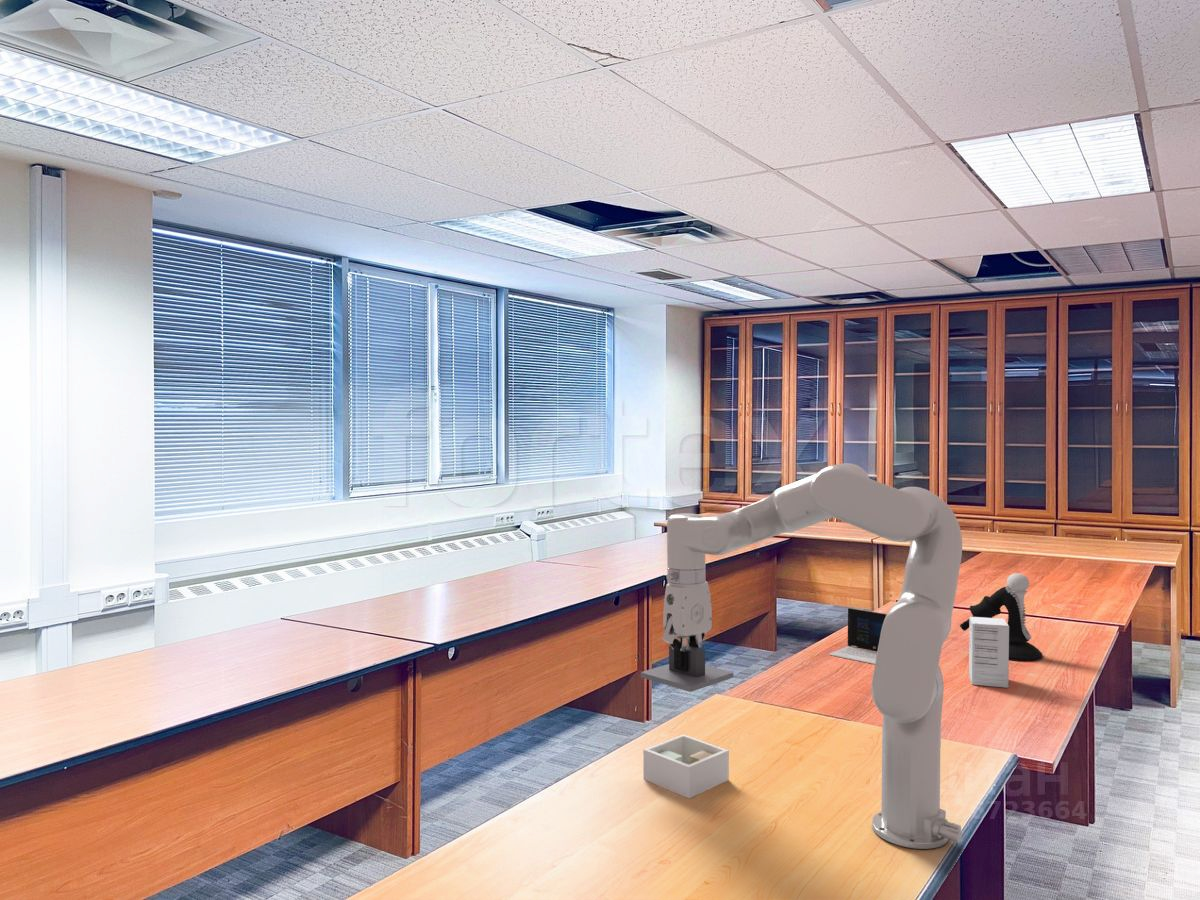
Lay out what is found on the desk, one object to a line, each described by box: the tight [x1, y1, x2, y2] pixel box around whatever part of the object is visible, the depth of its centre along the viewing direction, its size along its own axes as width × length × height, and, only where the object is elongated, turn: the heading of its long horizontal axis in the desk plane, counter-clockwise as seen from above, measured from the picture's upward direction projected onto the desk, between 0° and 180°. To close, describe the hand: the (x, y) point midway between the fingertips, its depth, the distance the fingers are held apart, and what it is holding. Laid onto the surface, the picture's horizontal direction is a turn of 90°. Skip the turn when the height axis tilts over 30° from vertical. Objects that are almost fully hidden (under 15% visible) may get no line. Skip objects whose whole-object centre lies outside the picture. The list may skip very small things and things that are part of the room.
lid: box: [640, 644, 734, 693], centre depth 168 cm, size 13×13×6 cm
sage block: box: [659, 750, 683, 762], centre depth 169 cm, size 4×4×4 cm
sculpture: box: [959, 572, 1043, 662], centre depth 261 cm, size 15×24×25 cm, turn 49°
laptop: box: [828, 607, 887, 665], centre depth 256 cm, size 18×12×13 cm
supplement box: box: [968, 616, 1010, 689], centre depth 231 cm, size 10×9×17 cm
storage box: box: [643, 733, 730, 799], centre depth 169 cm, size 12×12×6 cm
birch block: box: [690, 751, 713, 764], centre depth 169 cm, size 4×4×4 cm
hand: (687, 667), depth 168 cm, fingers closed on lid, 2 cm apart
